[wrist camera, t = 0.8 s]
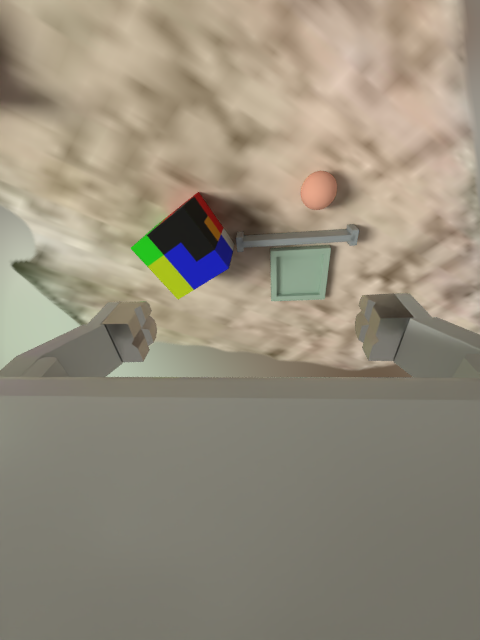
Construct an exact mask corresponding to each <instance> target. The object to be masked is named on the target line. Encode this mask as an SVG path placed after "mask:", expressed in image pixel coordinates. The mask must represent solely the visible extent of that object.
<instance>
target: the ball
mask: <svg viewBox="0 0 480 640" xmlns="http://www.w3.org/2000/svg"><path fill="white" fill-rule="evenodd" d="M336 193H337V183H336V180H335V178H334V177H333V176H332V175H331V174H330V173H328V172H325V171H317V172H314V173H312V174H311V175H309V176H308V177H307V178H306V179H305V181H304V183H303V185H302V188H301V198H302V201H303V203H304V204H305V205H306V206H307V207H308V208H310V209H313V210H320V209H323V208H325V207H327V206H329V205H330V204H331V203H332V201H333V200H334V198H335V196H336Z"/></svg>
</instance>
